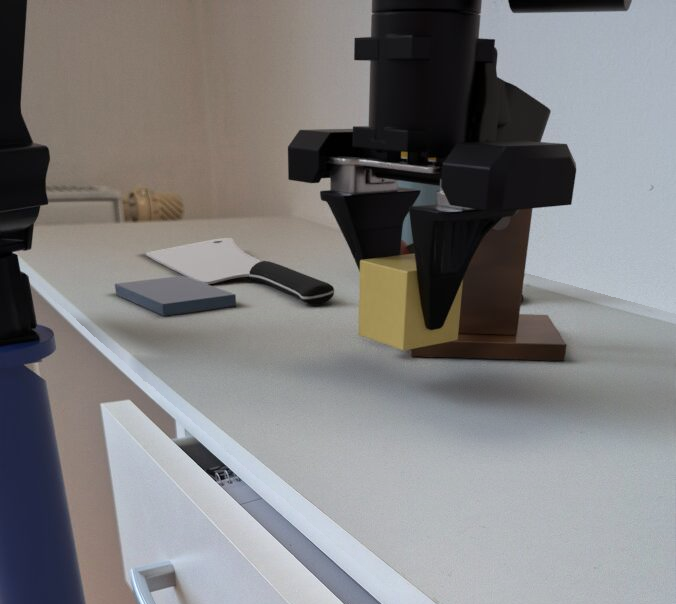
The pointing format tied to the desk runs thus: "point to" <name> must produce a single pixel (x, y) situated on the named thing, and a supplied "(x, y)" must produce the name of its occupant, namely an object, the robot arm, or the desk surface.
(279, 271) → the kitchen cleaver
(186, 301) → the slate grey tile
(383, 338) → the butter pat
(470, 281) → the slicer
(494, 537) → the desk surface
